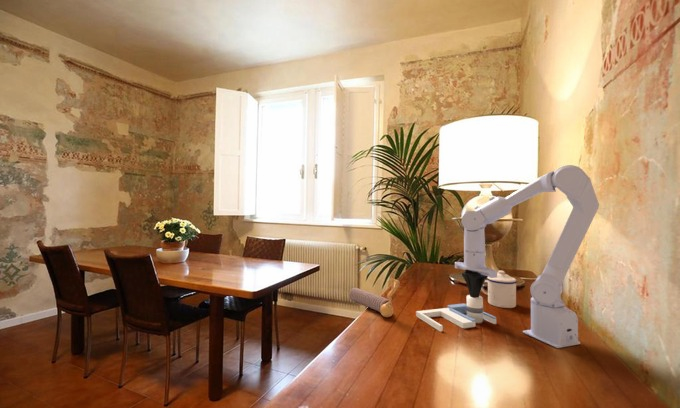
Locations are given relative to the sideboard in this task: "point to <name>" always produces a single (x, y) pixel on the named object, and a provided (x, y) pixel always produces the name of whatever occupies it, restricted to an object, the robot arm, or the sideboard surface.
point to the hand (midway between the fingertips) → (474, 297)
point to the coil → (368, 299)
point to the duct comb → (452, 316)
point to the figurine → (387, 308)
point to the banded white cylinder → (475, 308)
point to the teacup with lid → (501, 290)
